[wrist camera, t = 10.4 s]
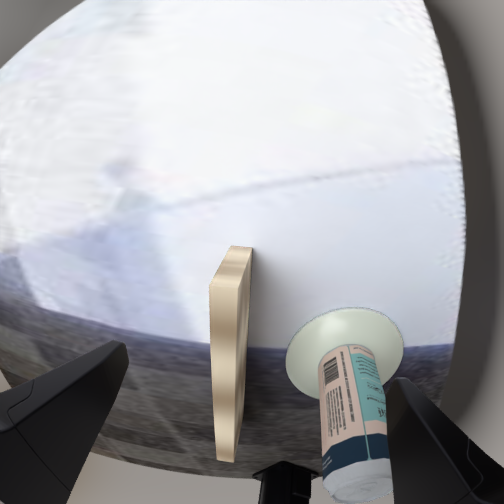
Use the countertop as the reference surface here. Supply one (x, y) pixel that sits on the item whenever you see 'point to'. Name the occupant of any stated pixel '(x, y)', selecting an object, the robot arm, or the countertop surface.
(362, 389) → the beer can
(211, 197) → the countertop surface
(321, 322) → the sage pad
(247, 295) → the birch screen
